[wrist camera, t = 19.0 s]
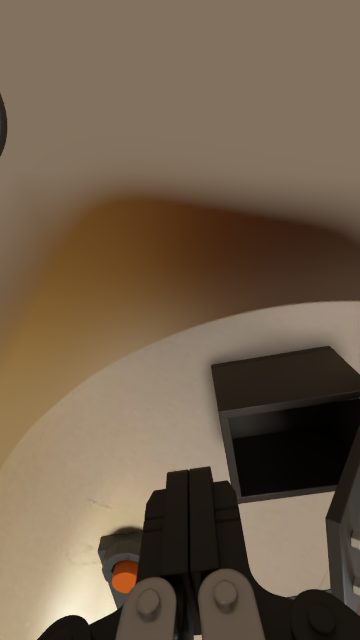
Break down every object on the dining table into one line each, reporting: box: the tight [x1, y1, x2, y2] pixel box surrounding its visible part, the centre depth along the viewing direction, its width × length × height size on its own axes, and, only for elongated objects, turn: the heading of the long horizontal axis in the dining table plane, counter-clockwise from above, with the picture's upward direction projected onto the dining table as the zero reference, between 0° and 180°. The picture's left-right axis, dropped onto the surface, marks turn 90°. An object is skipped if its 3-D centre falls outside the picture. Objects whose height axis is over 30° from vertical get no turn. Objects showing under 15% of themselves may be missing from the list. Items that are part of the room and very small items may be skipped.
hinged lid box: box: [211, 346, 360, 504], centre depth 36 cm, size 14×11×10 cm
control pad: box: [98, 532, 143, 610], centre depth 49 cm, size 23×8×4 cm, turn 11°
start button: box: [112, 560, 138, 593], centre depth 44 cm, size 4×4×2 cm
